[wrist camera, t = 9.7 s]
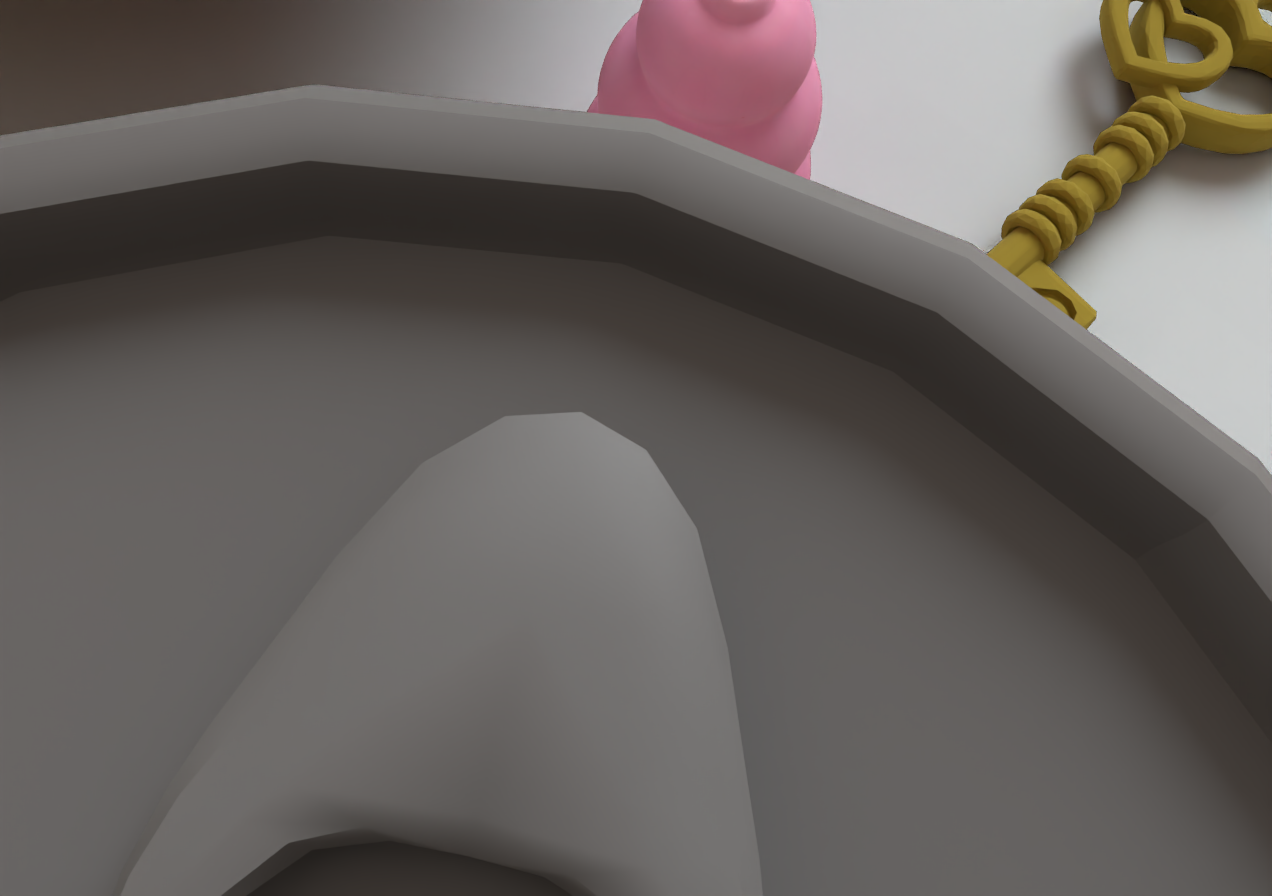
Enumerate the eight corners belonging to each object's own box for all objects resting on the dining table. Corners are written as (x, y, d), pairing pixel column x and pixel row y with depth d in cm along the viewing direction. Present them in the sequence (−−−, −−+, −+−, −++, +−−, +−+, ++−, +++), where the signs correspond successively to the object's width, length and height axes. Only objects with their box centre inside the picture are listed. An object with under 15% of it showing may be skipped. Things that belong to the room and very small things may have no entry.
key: (1038, 393, 22) (847, 210, 22) (1011, 416, 23) (830, 242, 24) (1388, 49, 25) (1210, -101, 26) (1348, 85, 26) (1179, -60, 27)
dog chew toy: (825, 268, 24) (943, 51, 17) (625, 345, 23) (663, 150, 16) (732, 89, 25) (807, -184, 18) (537, 156, 24) (537, -102, 17)
